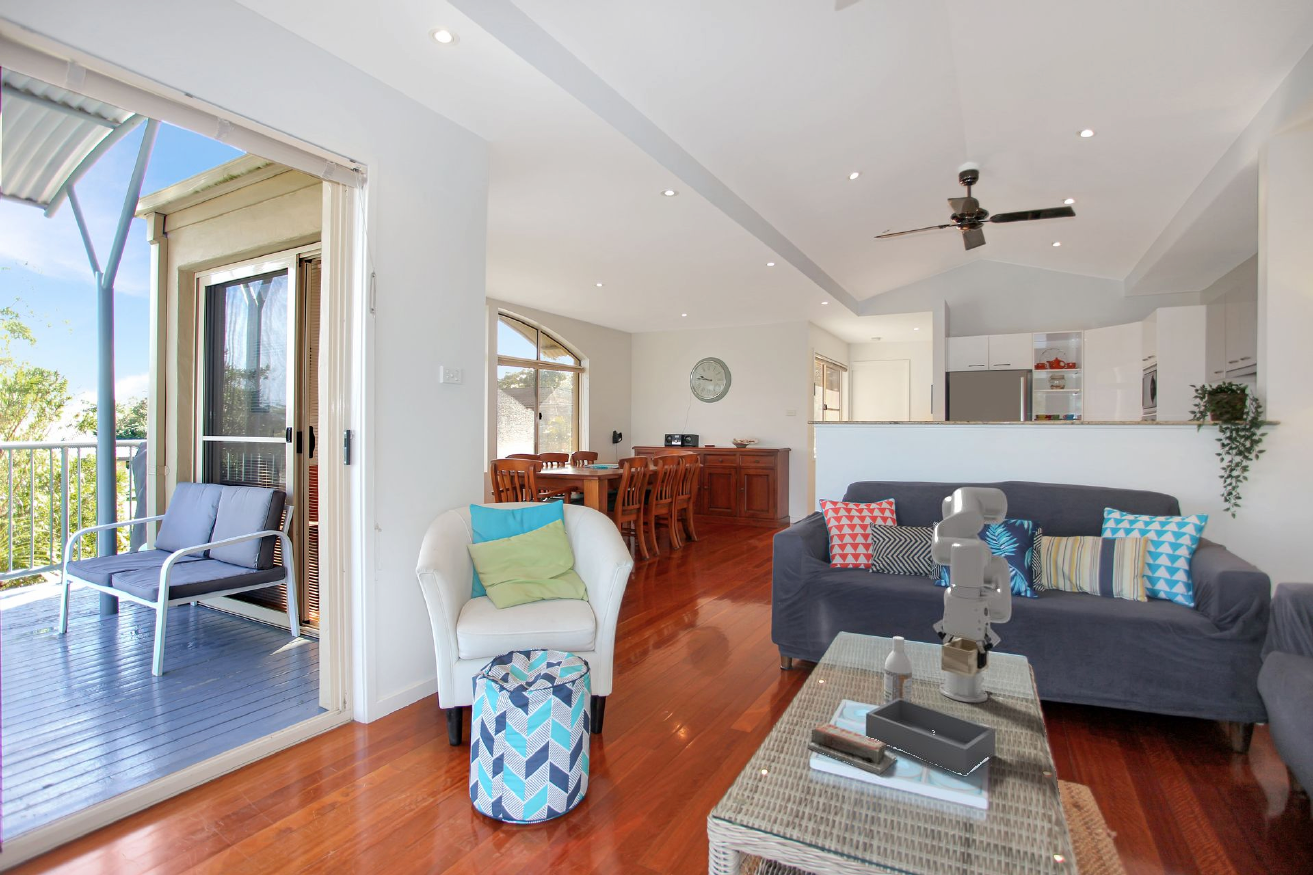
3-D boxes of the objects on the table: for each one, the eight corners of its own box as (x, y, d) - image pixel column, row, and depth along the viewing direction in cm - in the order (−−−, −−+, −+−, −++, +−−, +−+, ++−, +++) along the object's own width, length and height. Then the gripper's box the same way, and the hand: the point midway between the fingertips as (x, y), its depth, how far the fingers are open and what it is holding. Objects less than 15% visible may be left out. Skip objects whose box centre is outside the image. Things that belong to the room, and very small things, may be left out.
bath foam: (900, 719, 170) (901, 643, 170) (878, 709, 176) (879, 636, 176) (916, 713, 174) (917, 639, 174) (894, 704, 179) (895, 632, 180)
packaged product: (806, 729, 153) (825, 716, 160) (805, 749, 152) (825, 736, 160) (880, 754, 141) (898, 739, 148) (879, 777, 141) (897, 761, 148)
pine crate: (960, 660, 168) (960, 637, 168) (988, 667, 162) (988, 643, 163) (941, 669, 160) (941, 645, 160) (970, 677, 155) (970, 652, 155)
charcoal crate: (898, 720, 169) (898, 697, 169) (994, 754, 151) (995, 729, 151) (865, 737, 158) (866, 713, 159) (965, 777, 140) (965, 749, 140)
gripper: (1009, 596, 158) (1008, 669, 157) (938, 584, 171) (937, 652, 170) (997, 600, 153) (996, 676, 152) (925, 587, 166) (924, 657, 165)
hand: (965, 662), depth 161 cm, fingers closed on pine crate, 7 cm apart
